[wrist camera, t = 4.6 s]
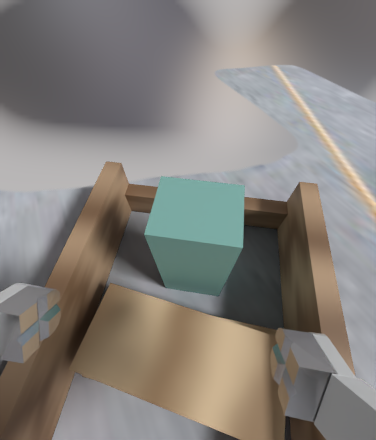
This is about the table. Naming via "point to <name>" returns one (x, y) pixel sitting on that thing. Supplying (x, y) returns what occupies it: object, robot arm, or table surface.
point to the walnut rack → (99, 272)
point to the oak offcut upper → (184, 363)
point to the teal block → (196, 233)
